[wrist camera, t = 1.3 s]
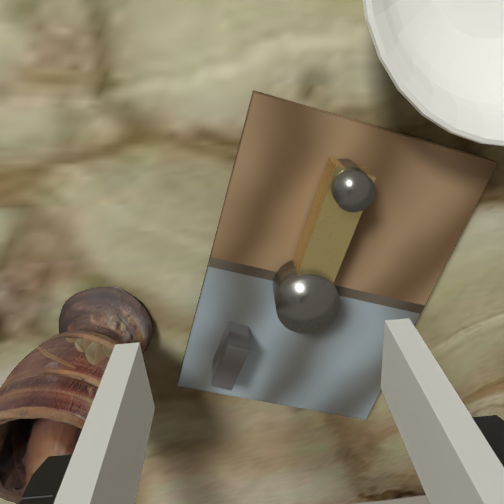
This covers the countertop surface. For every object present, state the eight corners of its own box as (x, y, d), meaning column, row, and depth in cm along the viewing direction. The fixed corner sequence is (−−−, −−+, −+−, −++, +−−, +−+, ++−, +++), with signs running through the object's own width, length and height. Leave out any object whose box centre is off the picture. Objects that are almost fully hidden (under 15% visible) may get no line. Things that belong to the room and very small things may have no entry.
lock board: (179, 372, 38) (173, 413, 34) (253, 90, 29) (256, 98, 24) (360, 406, 41) (375, 447, 37) (485, 157, 31) (524, 175, 27)
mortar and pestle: (183, 383, 39) (139, 679, 21) (89, 402, 39) (-32, 707, 21) (140, 270, 34) (36, 531, 16) (34, 293, 34) (-185, 571, 16)
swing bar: (320, 314, 34) (329, 343, 31) (265, 302, 33) (268, 331, 30) (379, 167, 29) (397, 183, 26) (316, 150, 28) (327, 164, 25)
